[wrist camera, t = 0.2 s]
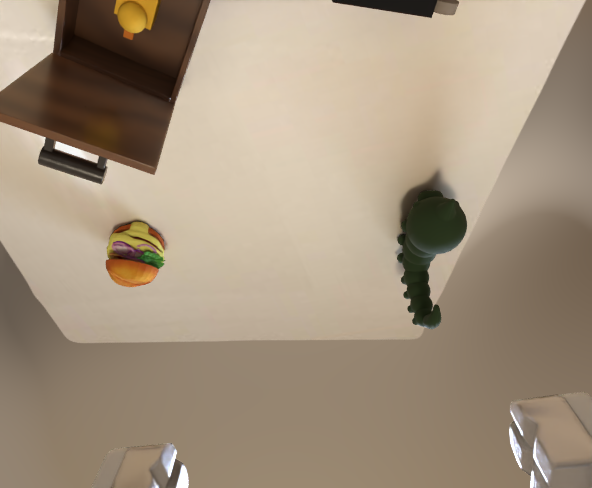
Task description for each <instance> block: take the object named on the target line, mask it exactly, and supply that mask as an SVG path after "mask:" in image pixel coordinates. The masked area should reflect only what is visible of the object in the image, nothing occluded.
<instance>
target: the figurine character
mask: <svg viewBox="0 0 592 488" xmlns="http://www.w3.org/2000/svg"><path fill="white" fill-rule="evenodd" d="M332 1H333V2H334V3H340V4H347V5H353V6H359V7H366V8H372V9H379V10H385V11H391V12H398V13H404V14H410V15H417V16H423V17H429V18H432V15H433V12H435V13H439V14H444V15H454V14H455V12H456V9H457V6H458V4H459V2H458V1H457V0H332Z"/></svg>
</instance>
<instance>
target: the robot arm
mask: <svg viewBox="0 0 592 488" xmlns="http://www.w3.org/2000/svg"><path fill="white" fill-rule="evenodd" d="M510 412H511V414H512V416H513V418H514V421H513V422H512V424H511V425H510V439H511V443H512V448H513V451H514V453H515V456H516V459H517V461H518V463H519V465H520V467H521V469H522V470H523V471H525V472H526V473H527V474H529V475H530V476H531V477H532V479H531V488H592V398H591V397H590V396H589V395H588V394H587V393H585V392H579V393H571V394H563V395H551V396H543V397H536V398H529V399H522V400H515V401H513V402H512V403H511V411H510ZM176 452H177V451H176V450H175V448H174V446H173V445H172V443H169V444H158V445H148V446H137V447H127V448H118V449H112V450H111V451H110V452H109V453H108V454H107V455H106V457H105V459H104V461H103V463H102V465H101V467H100V470H99V472H98V474H97V476H96V478H95V480H94V483H93V485H92V487H91V488H187V487H188V477H187V472H186V469H185V467H184V465H183V463H182V462H180V461H178V460H177V459H175V456H176Z"/></svg>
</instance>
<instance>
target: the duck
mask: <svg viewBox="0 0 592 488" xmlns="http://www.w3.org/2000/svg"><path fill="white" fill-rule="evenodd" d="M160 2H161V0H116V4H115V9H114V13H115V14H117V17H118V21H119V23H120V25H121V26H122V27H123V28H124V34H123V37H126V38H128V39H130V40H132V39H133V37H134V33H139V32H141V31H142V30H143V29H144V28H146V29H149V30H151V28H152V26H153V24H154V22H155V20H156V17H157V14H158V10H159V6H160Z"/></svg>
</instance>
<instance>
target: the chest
mask: <svg viewBox="0 0 592 488" xmlns="http://www.w3.org/2000/svg"><path fill="white" fill-rule="evenodd" d="M209 3H210V0H161V2H160V6H159V10H158V14H157V17H156V20H155V22H154V24H153V26H152V28H151V30H149V29H146V28H144V29H143V30H142V31H141V32H139V33H134V37H133V39H132V40H130V39H128V38H126V37H123V34H124V28H123V27H122V26H121V25H120V23H119V21H118V17H117V14H115V13H114V9H115V4H116V0H59V6H58V14H57V23H56V32H55V41H54V50H53V53H54V54H56V55H59V56H61V57H64V58H66V59H68V60H71V61H73V62H76V63H78V64H80V65H83V66H85V67H88V68H90V69H92V70H95V71H97V72H100V73H102V74H104V75H107V76H109V77H112V78H114V79H116V80H119V81H121V82H124V83H126V84H128V85H131V86H133V87H136V88H138V89H140V90H143V91H145V92H148V93H150V94H152V95H155V96H157V97H160V98H162V99H164V100H167V101H169V102H172V103H174V104H175V103H176V100H177V97H178V94H179V91H180V88H181V85H182V82H183V79H184V76H185V73H186V70H187V68H188V65H189V62H190V59H191V56H192V53H193V50H194V47H195V44H196V41H197V38H198V35H199V32H200V29H201V27H202V24H203V21H204V18H205V15H206V12H207V9H208V6H209Z"/></svg>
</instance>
